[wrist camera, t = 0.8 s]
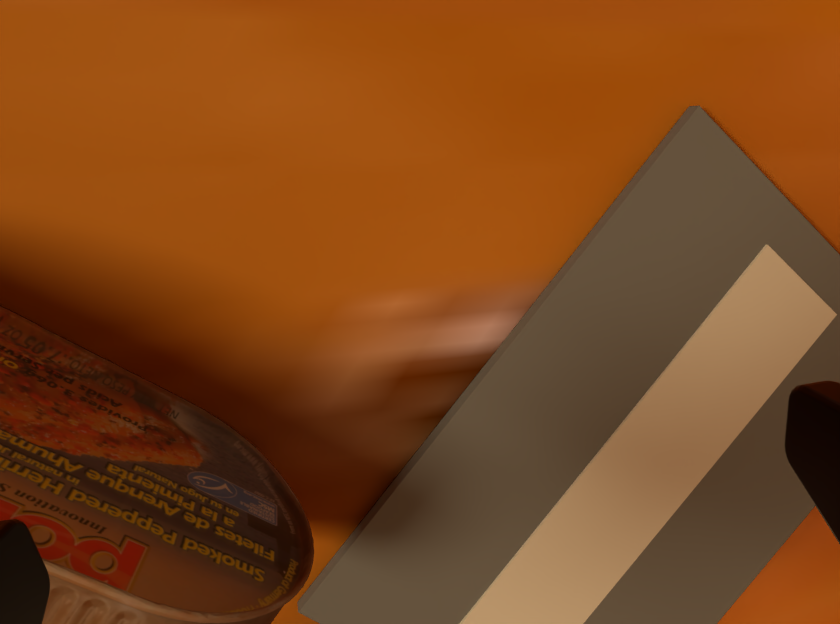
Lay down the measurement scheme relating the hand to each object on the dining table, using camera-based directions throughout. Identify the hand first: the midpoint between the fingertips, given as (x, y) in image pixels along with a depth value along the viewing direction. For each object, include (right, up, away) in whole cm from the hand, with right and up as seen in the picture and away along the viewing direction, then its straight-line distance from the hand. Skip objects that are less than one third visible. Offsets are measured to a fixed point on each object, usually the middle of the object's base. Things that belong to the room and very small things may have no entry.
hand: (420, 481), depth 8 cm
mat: (+8, -3, +16) cm, 18 cm away
